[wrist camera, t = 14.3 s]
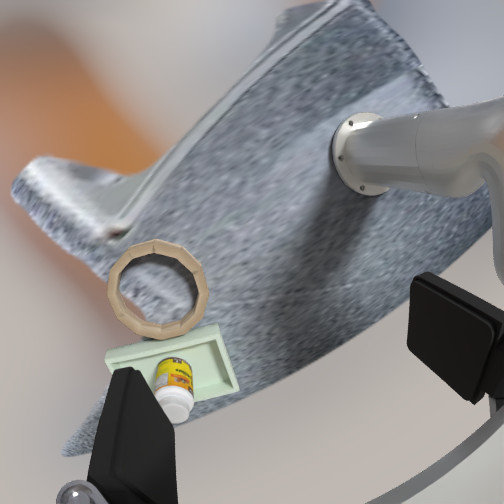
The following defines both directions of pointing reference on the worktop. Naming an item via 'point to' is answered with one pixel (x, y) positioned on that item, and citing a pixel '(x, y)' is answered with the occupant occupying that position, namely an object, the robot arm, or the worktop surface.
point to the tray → (189, 348)
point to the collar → (148, 327)
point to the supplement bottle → (174, 388)
